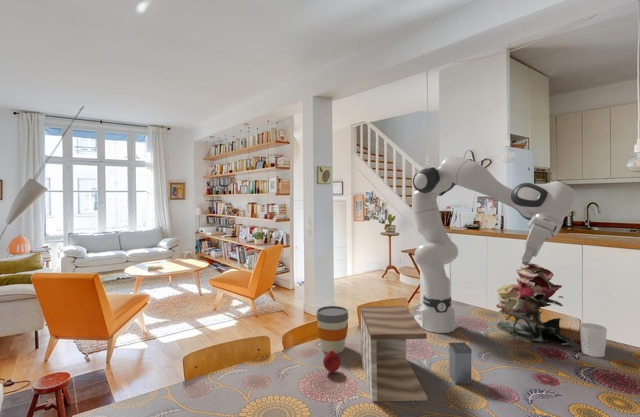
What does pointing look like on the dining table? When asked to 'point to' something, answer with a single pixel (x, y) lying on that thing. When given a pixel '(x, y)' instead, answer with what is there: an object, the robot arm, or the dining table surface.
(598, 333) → the white cup
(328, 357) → the red rounded piece
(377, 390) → the wooden cubby shelf
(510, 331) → the rose bouquet
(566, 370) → the dining table surface
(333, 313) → the reusable coffee cup
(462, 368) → the tea tin
